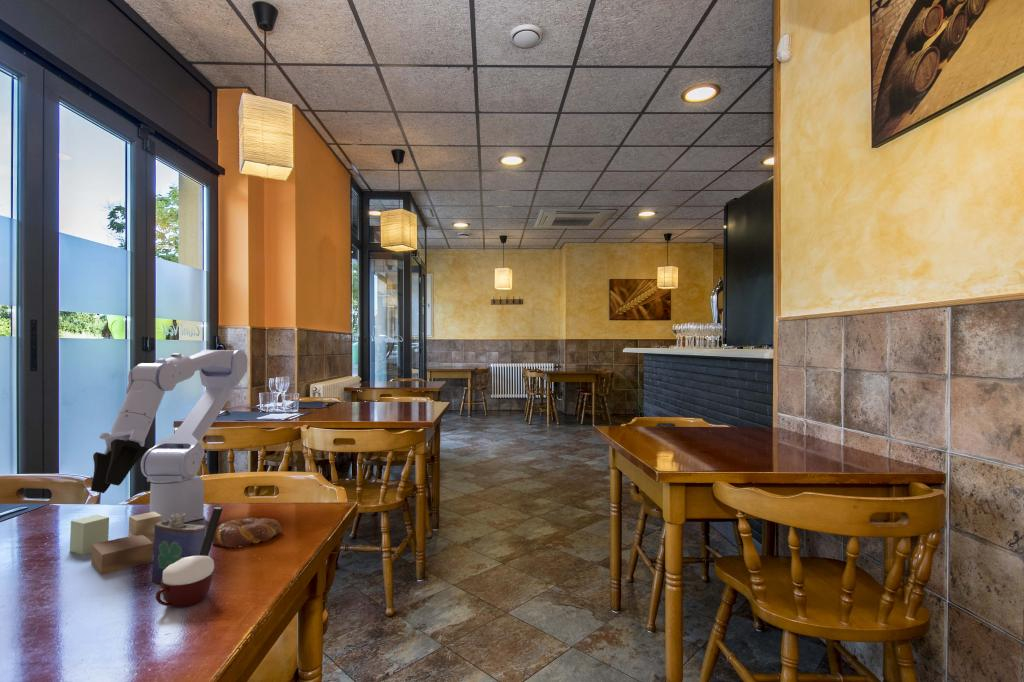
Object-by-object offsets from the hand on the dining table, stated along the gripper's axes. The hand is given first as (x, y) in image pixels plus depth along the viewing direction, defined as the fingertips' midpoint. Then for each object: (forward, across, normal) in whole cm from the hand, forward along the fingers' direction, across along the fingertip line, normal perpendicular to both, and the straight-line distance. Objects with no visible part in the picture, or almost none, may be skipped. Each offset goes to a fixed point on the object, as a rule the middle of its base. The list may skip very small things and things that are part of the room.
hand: (104, 488), depth 91 cm
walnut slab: (+12, +4, +6) cm, 14 cm away
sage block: (+9, -8, +3) cm, 12 cm away
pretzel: (+6, +8, +24) cm, 26 cm away
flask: (+16, +19, +10) cm, 27 cm away
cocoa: (+19, +26, +10) cm, 34 cm away
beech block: (+8, -2, +10) cm, 13 cm away
